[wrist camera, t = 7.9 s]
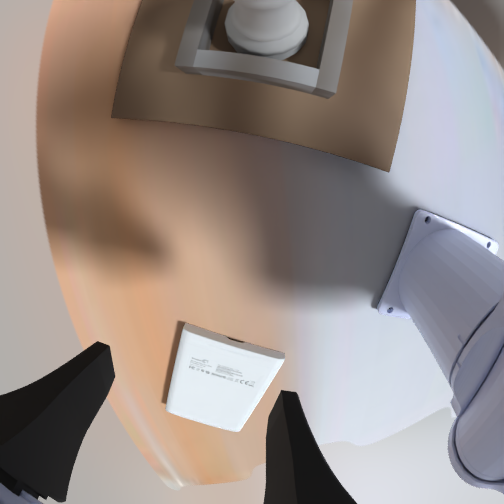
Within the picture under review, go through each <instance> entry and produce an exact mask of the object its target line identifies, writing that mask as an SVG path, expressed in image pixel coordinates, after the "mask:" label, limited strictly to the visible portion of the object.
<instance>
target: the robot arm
mask: <svg viewBox="0 0 504 504" xmlns="http://www.w3.org/2000/svg"><path fill="white" fill-rule="evenodd" d="M427 216H428V220H427V222H425V218H426V217H427ZM487 243H488V244H487ZM497 250H498V242H496V241H495V240H493V239H491V238H488V237H486V236H484V235H482V234H480V233H478V232H475V231H473V230H471V229H469V228H466V227H464V226H462V225H459V224H457V223H455V222H452V221H450V220H448V219H445V218H443V217H440V216H438V215H435V214H433V213H430V212H427V211H425V210H422V209H419V210H417V211H416V212H415V214H414V217H413V220H412V223H411V225H410V228H409V231H408V234H407V237H406V240H405V242H404V245H403V248H402V250H401V253H400V255H399V258H398V260H397V263H396V265H395V268H394V270H393V273H392V275H391V277H390V280H389V282H388V284H387V286H386V289H385V291H384V293H383V295H382V298H381V300H380V302H379V304H378V306H377V310H378V312H379V313H380V314H382V315H388V316H394V317H400V318H406V319H412V320H413V322H414V323H415V325H416V327H417V328H418V330H419V332H420V333H421V335H422V337H423V338H424V340H425V342H426V343H427V345H428V347H429V348H430V350H431V352H432V354H433V355H434V357H435V359H436V361H437V362H438V364H439V366H440V368H441V370H442V372H443V373H444V375H445V377H446V379H447V381H448V383H449V385H450V387H451V388H452V390H453V393H454V395H453V398H452V400H451V405H452V407H453V409H454V411H455V413H456V416H457V418H456V419H455V421H454V423H453V425H452V427H451V430H450V433H449V438H448V453H449V458H450V461H451V464H452V466H453V468H454V470H455V472H456V473H457V474H458V475H459V477H460V478H461V479H462V480H464V481H465V482H467V483H468V484H470V485H472V486H475V487H478V488H487V489H494V490H497V491H499V492H501V493H503V494H504V261H503V260H502V259H500V258H499V257H497V256H496V253H497ZM390 307H392V308H391V309H390V310H388V308H390ZM114 378H115V372H114V367H113V362H112V357H111V351H110V346H109V345H106V344H104V343H101V342H98V341H97V342H96V343H94V344H93V345H91V346H90V347H88V348H87V349H86V350H84V351H83V352H81V353H80V354H79V355H77V356H76V357H74V358H73V359H71V360H70V361H68V362H67V363H65V364H64V365H62V366H61V367H59V368H58V369H56V370H54V371H53V372H51V373H49V374H48V375H46V376H44V377H43V378H41V379H39V380H37V381H35V382H33V383H31V384H29V385H27V386H25V387H23V388H20V389H17V390H15V391H12V392H9V393H7V394H3V395H0V504H43V503H42V502H40V501H39V500H38V497H39V496H41V497H42V498H44V499H47V497H48V496H49V497H51V498H52V499H54V500H56V501H57V502H65V501H66V495H67V491H68V485H69V481H70V477H71V473H72V470H73V466H74V463H75V460H76V457H77V454H78V451H79V449H80V446H81V443H82V441H83V438H84V436H85V434H86V432H87V430H88V428H89V427H90V425H91V423H92V421H93V419H94V418H95V416H96V414H97V412H98V411H99V409H100V407H101V405H102V404H103V402H104V400H105V399H106V397H107V395H108V393H109V390H110V388H111V386H112V383H113V381H114ZM264 504H357V503H356V502H355V501H354V499H353V498H352V497H351V496H350V495H349V493H348V492H347V491H346V490H345V489H344V487H343V486H342V485H341V483H340V482H339V480H338V479H337V478H336V476H335V475H334V473H333V472H332V470H331V469H330V467H329V465H328V464H327V462H326V460H325V459H324V457H323V455H322V453H321V451H320V449H319V447H318V445H317V443H316V441H315V438H314V436H313V434H312V432H311V429H310V427H309V425H308V422H307V420H306V417H305V414H304V412H303V409H302V406H301V403H300V400H299V397H298V394H297V393H296V392H291V391H284V390H281V392H280V394H279V396H278V398H277V400H276V402H275V405H274V407H273V409H272V411H271V413H270V415H269V418H268V425H267V434H266V489H265V497H264Z"/></svg>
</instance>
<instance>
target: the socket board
mask: <svg viewBox="0 0 504 504" xmlns="http://www.w3.org/2000/svg"><path fill="white" fill-rule="evenodd" d="M296 1H297V2H298V3H299V4H300V5H301V7H302V8H303V9H304V10H305V12H306V16H307V19H308V22H309V27H308V30H309V31H308V35H307V39H306V43H305V44H304V45H303V46H302V47H301V49H300V50H299V51H298V52H297V53H296V54H294V55H292V56H290V57H288V58H286V59H284V60H277V59H272V58H266V57H261V56H254V55H248V54H241V53H238V52H237V51H236V50H235V49H234V48H233V46H232V45H231V44H230V43H229V41H228V37H227V33H226V28H225V24H224V23H225V20H226V16H227V13H228V10H229V8H230V7H231V6H232V5H233V4H234V3H235V1H234V0H143V1H142V3H141V6H140V9H139V11H138V14H137V17H136V20H135V23H134V26H133V29H132V32H131V35H130V38H129V42H128V45H127V49H126V52H125V56H124V60H123V63H122V67H121V71H120V76H119V80H118V84H117V89H116V94H115V99H114V104H113V110H112V116H111V118H123V119H140V120H153V121H164V122H174V123H183V124H191V125H198V126H205V127H212V128H219V129H225V130H231V131H236V132H242V133H247V134H252V135H257V136H262V137H267V138H271V139H276V140H280V141H285V142H289V143H293V144H297V145H301V146H305V147H309V148H313V149H316V150H320V151H323V152H327V153H331V154H334V155H337V156H341V157H344V158H347V159H350V160H354V161H357V162H360V163H363V164H366V165H369V166H372V167H375V168H378V169H380V170H383V171H386V172H389V171H390V167H391V164H392V160H393V156H394V152H395V148H396V143H397V139H398V134H399V130H400V125H401V120H402V115H403V110H404V105H405V99H406V94H407V88H408V81H409V74H410V67H411V59H412V50H413V40H414V28H415V10H416V0H296Z"/></svg>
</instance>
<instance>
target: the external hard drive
mask: <svg viewBox="0 0 504 504" xmlns="http://www.w3.org/2000/svg"><path fill="white" fill-rule="evenodd" d="M284 360H285V353H283V352H279V351H275V350H271V349H268V348H264V347H261V346H257V345H254V344H250V343H247V342H243V343H241V342H237V341H234V340H230V339H228V338H227V336H224V335H221V334H218V333H215V332H212V331H209V330H206V329H203V328H200V327H197V326H194V325H191V324H189V323H185V325H184V327H183V330H182V335H181V339H180V343H179V347H178V352H177V356H176V360H175V365H174V369H173V374H172V379H171V383H170V388H169V393H168V398H167V403H166V411H168V412H169V413H172V414H175V415H178V416H181V417H184V418H187V419H190V420H193V421H197V422H200V423H203V424H207V425H210V426H214V427H218V428H222V429H225V430H230V431H234V432H239V431H240V430H241V428H242V427H243V425H244V424H245V422H246V421H247V419H248V418H249V416H250V415H251V413H252V412H253V410H254V408H255V407H256V405H257V404H258V402H259V401H260V399H261V398H262V396H263V394H264V393H265V391H266V390H267V388H268V386H269V385H270V383H271V381H272V380H273V378H274V377H275V375H276V373H277V372H278V370H279V368H280V367H281V365H282V363H283V361H284Z"/></svg>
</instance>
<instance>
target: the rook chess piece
mask: <svg viewBox="0 0 504 504" xmlns="http://www.w3.org/2000/svg"><path fill="white" fill-rule="evenodd" d="M234 1H235V3H234V4H233V5H232V6H231V7H230V8H229V10H228V13H227V16H226V20H225V23H224V24H225V28H226V33H227V37H228V41H229V43H230V44H231V45H232V46H233V48H234V49H235V50H236V51H237V52H238V53H241V54H248V55H254V56H261V57H266V58H272V59H277V60H284V59H286V58H288V57H290V56H292V55H294V54H296V53H297V52H298V51H299V50H300V49H301V47H302V46H303V45H304V44H305V43H306V39H307V35H308V31H309V30H308V27H309V22H308V19H307V16H306V12H305V10H304V9H303V8H302V7H301V5H300V4H299V3H298V2H297V1H296V0H234Z"/></svg>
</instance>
